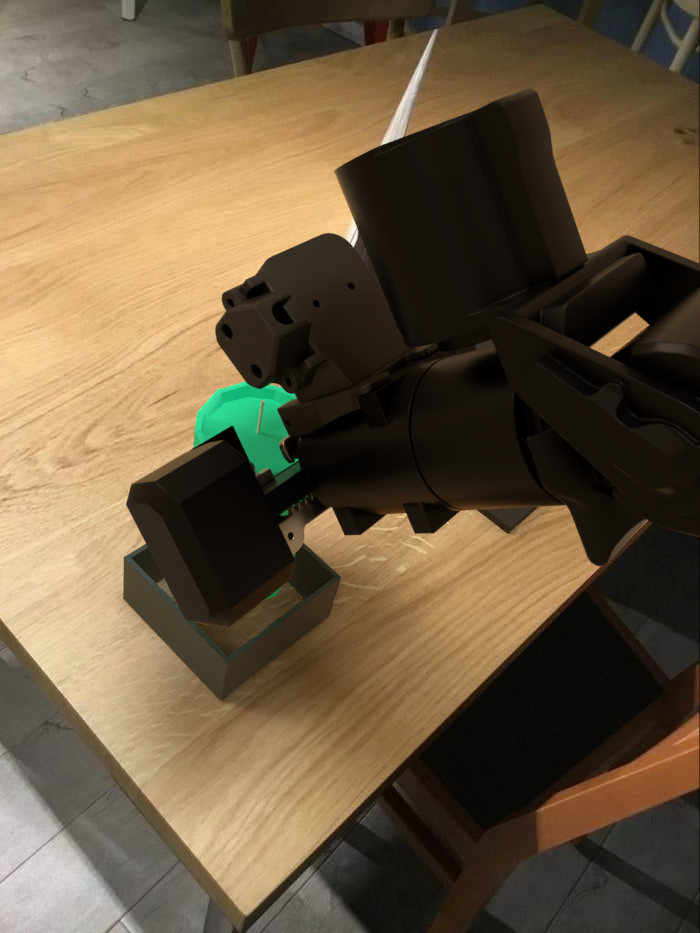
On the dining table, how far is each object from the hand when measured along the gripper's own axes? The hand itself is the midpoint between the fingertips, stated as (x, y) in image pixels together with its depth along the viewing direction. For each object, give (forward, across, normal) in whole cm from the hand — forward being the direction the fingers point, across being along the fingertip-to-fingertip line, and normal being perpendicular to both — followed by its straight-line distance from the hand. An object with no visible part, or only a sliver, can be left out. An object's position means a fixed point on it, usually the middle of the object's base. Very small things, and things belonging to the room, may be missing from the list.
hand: (231, 464), depth 44 cm
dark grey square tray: (+7, 0, +9) cm, 11 cm away
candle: (+4, 0, +6) cm, 7 cm away
